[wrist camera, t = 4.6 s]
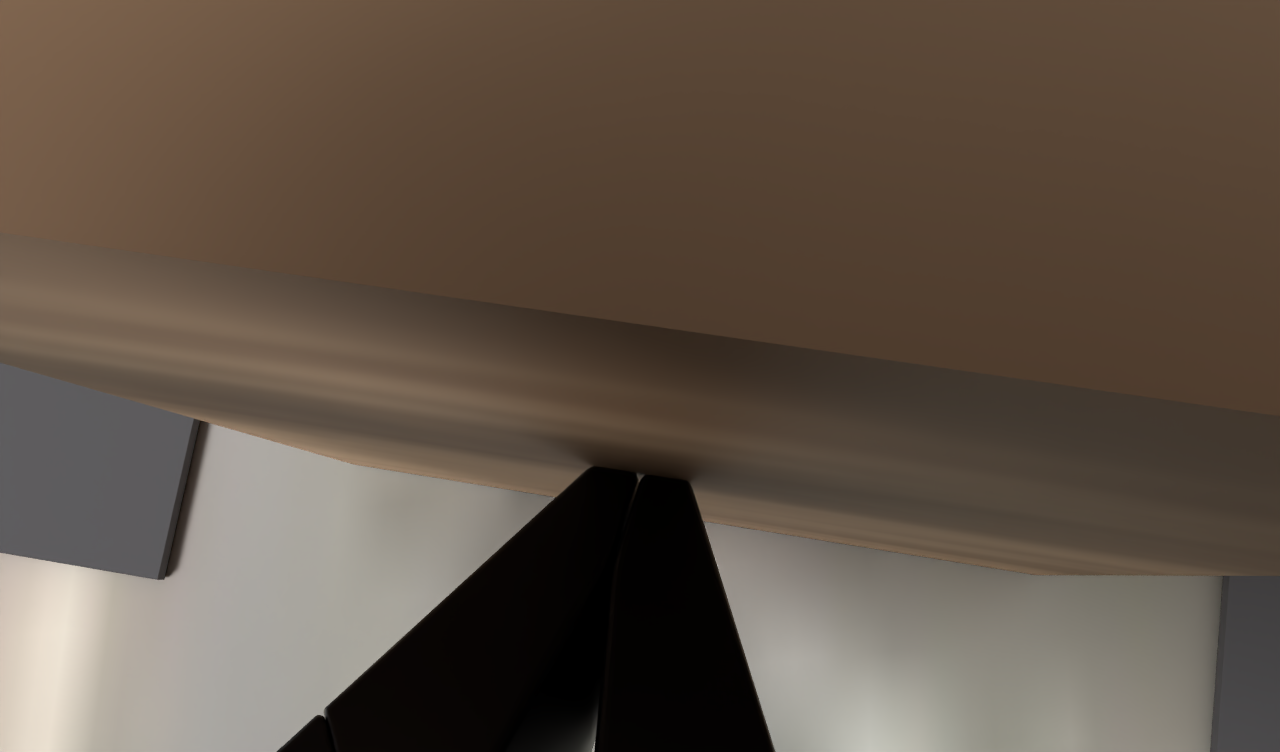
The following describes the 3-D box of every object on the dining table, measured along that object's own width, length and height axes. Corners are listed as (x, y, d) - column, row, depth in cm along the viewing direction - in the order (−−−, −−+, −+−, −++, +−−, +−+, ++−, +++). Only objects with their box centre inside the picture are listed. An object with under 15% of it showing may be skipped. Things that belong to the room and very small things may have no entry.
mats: (1611, 828, 14) (1623, 831, 14) (-140, 527, 17) (-151, 526, 17) (1621, 239, 16) (1632, 234, 15) (-10, 46, 18) (-17, 40, 18)
